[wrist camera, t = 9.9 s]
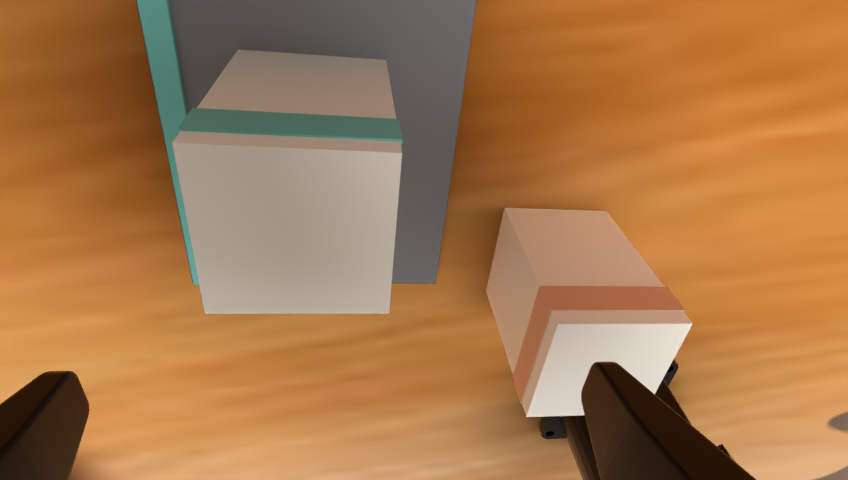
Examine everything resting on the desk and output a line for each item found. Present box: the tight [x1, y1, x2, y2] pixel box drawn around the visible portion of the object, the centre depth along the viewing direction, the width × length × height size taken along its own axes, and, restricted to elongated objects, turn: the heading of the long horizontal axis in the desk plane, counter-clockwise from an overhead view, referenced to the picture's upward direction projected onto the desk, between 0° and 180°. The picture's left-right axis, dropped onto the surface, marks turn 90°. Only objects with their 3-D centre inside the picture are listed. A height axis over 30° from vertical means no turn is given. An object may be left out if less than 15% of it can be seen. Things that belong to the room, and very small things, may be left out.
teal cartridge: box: [172, 49, 403, 314], centre depth 15 cm, size 5×5×7 cm
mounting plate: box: [136, 0, 476, 285], centre depth 18 cm, size 14×10×1 cm
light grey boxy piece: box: [486, 208, 693, 417], centre depth 20 cm, size 5×5×7 cm
